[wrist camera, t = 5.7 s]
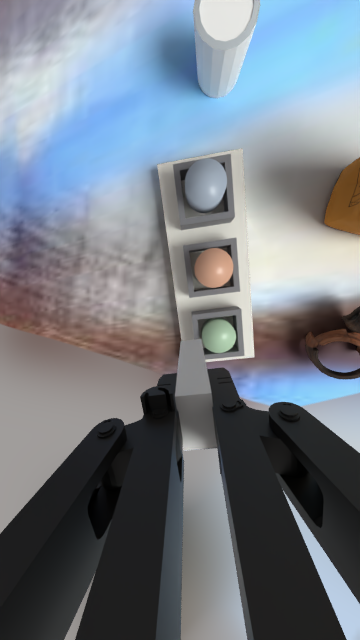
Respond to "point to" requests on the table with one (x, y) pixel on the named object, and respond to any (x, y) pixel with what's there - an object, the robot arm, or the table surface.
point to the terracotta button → (213, 267)
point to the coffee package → (345, 201)
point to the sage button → (218, 335)
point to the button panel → (205, 233)
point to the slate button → (205, 185)
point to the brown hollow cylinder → (355, 322)
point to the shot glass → (222, 41)
